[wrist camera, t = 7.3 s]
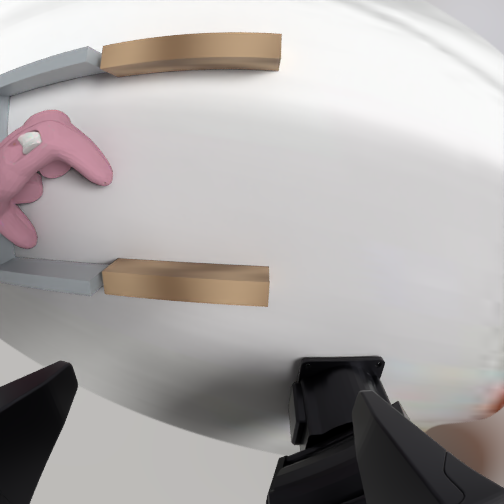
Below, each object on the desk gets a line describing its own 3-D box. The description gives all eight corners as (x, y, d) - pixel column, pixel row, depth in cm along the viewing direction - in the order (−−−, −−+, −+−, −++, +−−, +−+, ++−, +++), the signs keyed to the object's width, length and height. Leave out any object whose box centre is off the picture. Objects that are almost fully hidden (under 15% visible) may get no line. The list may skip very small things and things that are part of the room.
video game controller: (109, 130, 19) (39, 84, 12) (123, 182, 18) (40, 140, 11) (25, 205, 21) (-41, 185, 14) (33, 254, 20) (-42, 242, 13)
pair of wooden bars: (279, 48, 16) (281, 34, 13) (267, 288, 20) (267, 306, 18) (120, 56, 16) (103, 46, 14) (120, 279, 20) (104, 294, 18)
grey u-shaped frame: (110, 58, 16) (88, 46, 13) (111, 278, 20) (91, 296, 18) (3, 87, 16) (-22, 84, 13) (10, 267, 21) (-12, 280, 18)
